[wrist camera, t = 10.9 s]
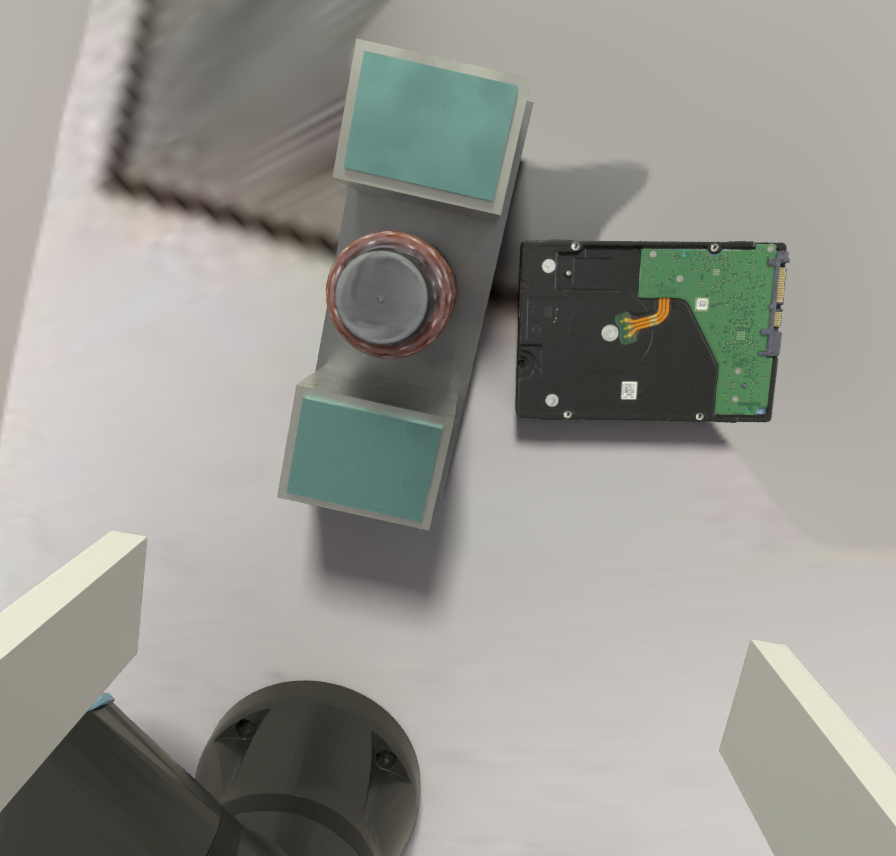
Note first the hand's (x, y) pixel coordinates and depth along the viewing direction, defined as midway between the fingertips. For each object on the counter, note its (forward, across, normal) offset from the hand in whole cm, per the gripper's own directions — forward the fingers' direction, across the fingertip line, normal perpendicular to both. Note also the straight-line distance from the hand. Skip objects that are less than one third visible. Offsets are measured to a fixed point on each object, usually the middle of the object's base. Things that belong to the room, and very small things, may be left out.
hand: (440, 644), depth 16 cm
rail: (+30, +4, -6) cm, 30 cm away
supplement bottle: (+28, +4, -6) cm, 29 cm away
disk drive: (+30, -10, -6) cm, 32 cm away
